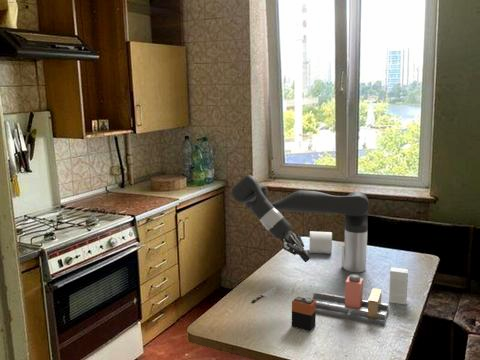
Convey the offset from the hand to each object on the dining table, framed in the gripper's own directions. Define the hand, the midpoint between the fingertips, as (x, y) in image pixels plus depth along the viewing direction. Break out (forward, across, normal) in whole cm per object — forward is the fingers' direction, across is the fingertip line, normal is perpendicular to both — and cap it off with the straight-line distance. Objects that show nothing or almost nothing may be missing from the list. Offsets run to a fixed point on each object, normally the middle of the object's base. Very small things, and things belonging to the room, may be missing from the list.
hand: (308, 260), depth 164 cm
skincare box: (+33, -15, +8) cm, 37 cm away
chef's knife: (+1, -2, -23) cm, 23 cm away
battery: (+14, +16, -9) cm, 24 cm away
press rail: (+22, 0, -2) cm, 22 cm away
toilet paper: (+5, -54, -19) cm, 57 cm away
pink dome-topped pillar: (+22, -1, +1) cm, 22 cm away
